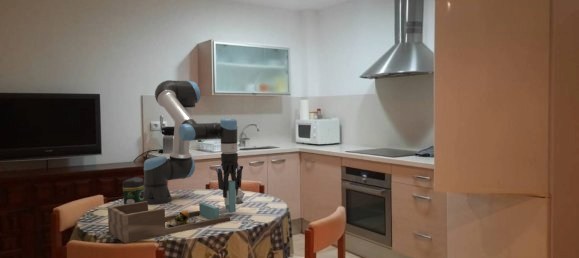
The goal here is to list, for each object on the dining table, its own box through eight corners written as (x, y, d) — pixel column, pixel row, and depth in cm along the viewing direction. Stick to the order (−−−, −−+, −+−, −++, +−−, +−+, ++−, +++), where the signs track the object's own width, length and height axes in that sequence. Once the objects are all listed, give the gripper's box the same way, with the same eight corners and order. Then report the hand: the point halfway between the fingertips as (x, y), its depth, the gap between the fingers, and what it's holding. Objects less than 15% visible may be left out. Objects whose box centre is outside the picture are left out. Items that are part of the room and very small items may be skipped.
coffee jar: (130, 216, 188) (129, 176, 188) (147, 216, 188) (146, 176, 187) (120, 222, 179) (119, 179, 178) (138, 222, 178) (137, 179, 177)
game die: (239, 210, 213) (241, 197, 207) (224, 204, 215) (226, 191, 209) (246, 199, 220) (248, 186, 214) (232, 193, 222) (234, 180, 216)
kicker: (199, 215, 187) (198, 182, 186) (225, 210, 195) (224, 178, 195) (215, 221, 176) (214, 186, 176) (241, 215, 185) (241, 182, 184)
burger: (167, 222, 178) (166, 205, 178) (195, 220, 181) (194, 203, 181) (166, 230, 167) (166, 211, 166) (196, 227, 170) (196, 209, 169)
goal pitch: (108, 231, 164) (107, 206, 164) (208, 213, 193) (208, 191, 192) (124, 243, 150) (123, 215, 149) (230, 221, 178) (229, 198, 178)
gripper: (217, 154, 180) (219, 208, 181) (248, 151, 190) (249, 202, 191) (209, 153, 186) (210, 205, 187) (239, 150, 196) (240, 200, 197)
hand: (230, 203), depth 189 cm, fingers closed on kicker, 3 cm apart
